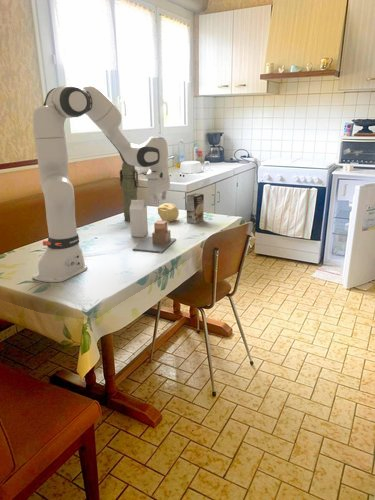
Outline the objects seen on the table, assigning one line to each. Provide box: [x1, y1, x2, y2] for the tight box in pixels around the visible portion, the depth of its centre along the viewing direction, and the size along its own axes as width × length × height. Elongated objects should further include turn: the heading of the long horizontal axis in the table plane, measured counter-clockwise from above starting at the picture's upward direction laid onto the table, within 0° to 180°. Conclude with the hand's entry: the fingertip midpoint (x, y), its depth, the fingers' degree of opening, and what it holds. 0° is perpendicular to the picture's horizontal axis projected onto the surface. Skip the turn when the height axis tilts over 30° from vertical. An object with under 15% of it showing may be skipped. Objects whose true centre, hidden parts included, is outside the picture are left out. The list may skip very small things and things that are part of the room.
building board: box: [131, 229, 177, 254], centre depth 185 cm, size 20×15×6 cm
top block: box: [153, 220, 169, 234], centre depth 186 cm, size 5×5×5 cm
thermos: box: [119, 161, 139, 222], centre depth 226 cm, size 9×12×35 cm
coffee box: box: [186, 193, 205, 225], centre depth 223 cm, size 9×6×16 cm
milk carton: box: [129, 199, 149, 238], centre depth 198 cm, size 7×7×19 cm
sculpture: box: [157, 202, 180, 223], centre depth 227 cm, size 12×12×11 cm
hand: (160, 201), depth 182 cm, fingers open, 8 cm apart
